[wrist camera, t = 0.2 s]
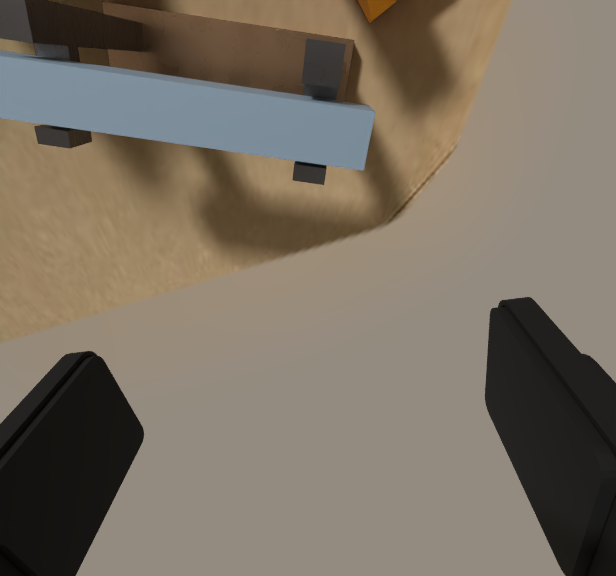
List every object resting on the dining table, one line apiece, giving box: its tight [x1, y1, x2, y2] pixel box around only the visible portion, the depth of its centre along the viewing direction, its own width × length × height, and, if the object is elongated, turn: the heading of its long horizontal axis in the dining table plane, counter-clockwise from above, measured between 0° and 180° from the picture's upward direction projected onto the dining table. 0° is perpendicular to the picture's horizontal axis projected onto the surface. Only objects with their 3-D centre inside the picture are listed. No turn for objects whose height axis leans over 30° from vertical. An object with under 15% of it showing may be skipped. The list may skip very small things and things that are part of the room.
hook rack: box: [0, 0, 354, 185], centre depth 27 cm, size 8×20×15 cm, turn 82°
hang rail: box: [0, 51, 375, 171], centre depth 22 cm, size 3×22×4 cm, turn 83°
